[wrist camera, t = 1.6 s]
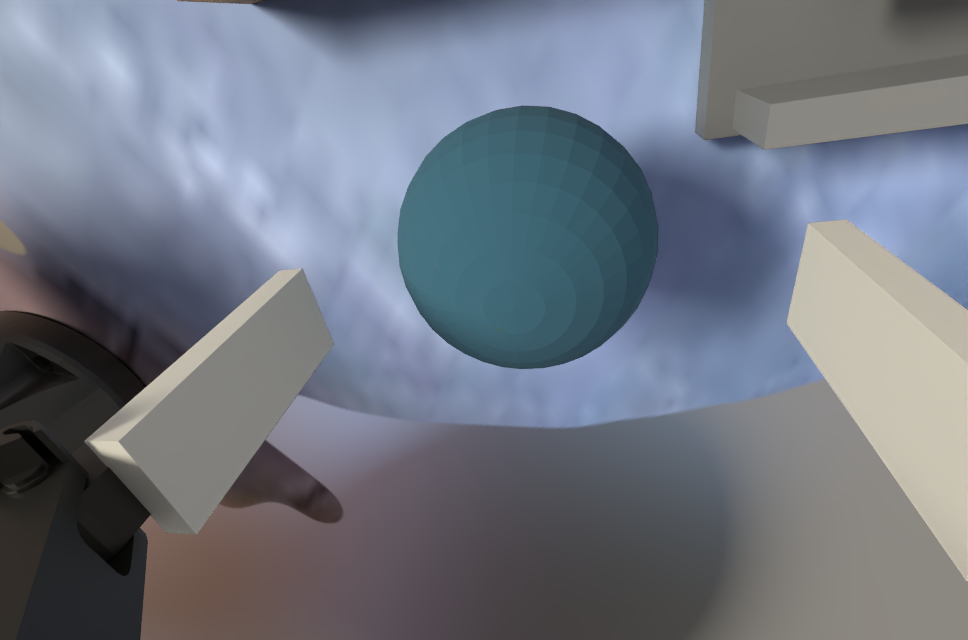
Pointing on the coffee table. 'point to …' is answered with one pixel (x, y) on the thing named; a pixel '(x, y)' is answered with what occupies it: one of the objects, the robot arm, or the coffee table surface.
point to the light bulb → (527, 237)
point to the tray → (227, 1)
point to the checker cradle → (831, 69)
